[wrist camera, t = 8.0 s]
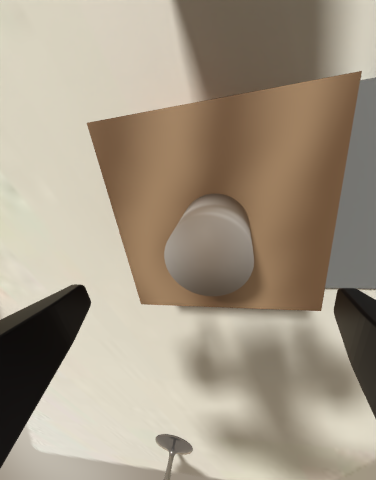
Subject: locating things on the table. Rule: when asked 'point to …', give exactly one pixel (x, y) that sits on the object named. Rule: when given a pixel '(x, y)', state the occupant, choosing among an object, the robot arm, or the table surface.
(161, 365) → the table surface
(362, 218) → the mat
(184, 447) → the wine glass
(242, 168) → the lid
